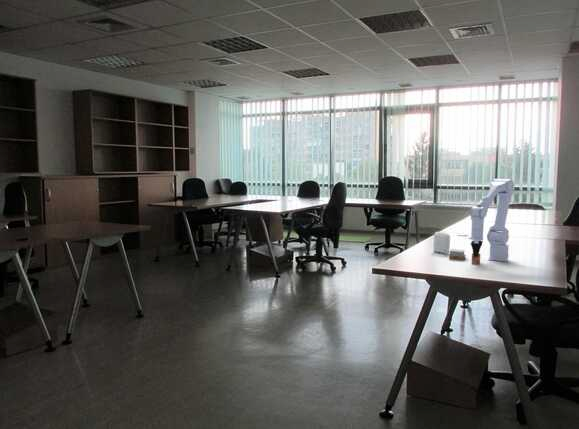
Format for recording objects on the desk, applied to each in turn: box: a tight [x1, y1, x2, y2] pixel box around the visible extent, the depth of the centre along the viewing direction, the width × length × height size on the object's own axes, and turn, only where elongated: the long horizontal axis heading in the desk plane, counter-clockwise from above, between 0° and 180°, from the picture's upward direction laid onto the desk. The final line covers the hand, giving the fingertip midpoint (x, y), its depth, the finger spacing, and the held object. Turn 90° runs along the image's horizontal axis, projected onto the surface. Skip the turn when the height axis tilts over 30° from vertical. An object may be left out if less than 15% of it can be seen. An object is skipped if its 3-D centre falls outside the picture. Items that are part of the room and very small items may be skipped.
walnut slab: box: [448, 253, 467, 261], centre depth 264 cm, size 8×8×2 cm
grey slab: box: [449, 248, 465, 257], centre depth 264 cm, size 7×7×2 cm
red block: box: [471, 252, 481, 265], centre depth 251 cm, size 4×4×5 cm
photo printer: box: [433, 231, 451, 255], centre depth 282 cm, size 10×4×12 cm, turn 28°
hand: (476, 255), depth 251 cm, fingers open, 7 cm apart
